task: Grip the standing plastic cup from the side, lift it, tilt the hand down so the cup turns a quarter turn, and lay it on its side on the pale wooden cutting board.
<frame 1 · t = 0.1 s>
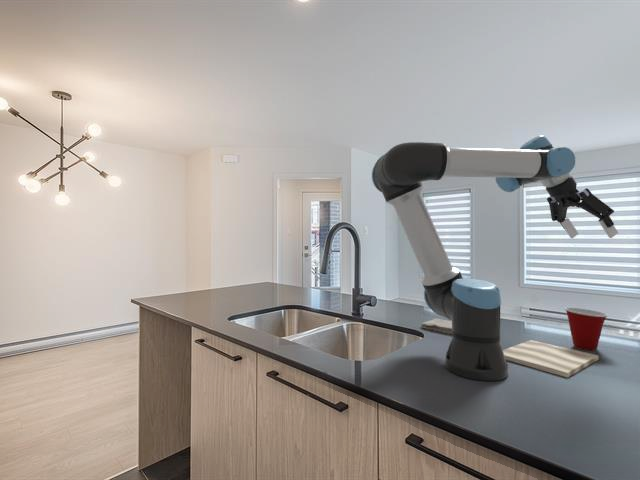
hand: (593, 235, 107), 36 cm above the worktop, tool tilted 35°, fingers open, 13 cm apart
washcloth: (448, 331, 128), on the worktop
plastic cup: (586, 348, 107), on the worktop
cutting board: (546, 358, 97), on the worktop
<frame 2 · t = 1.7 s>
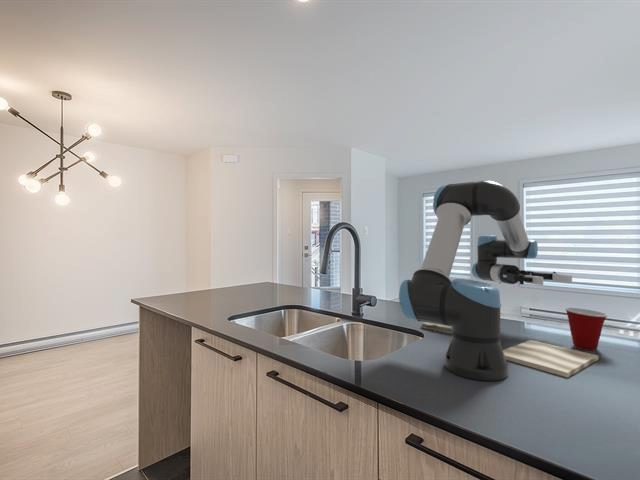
hand: (557, 280, 115), 20 cm above the worktop, tool horizontal, fingers open, 13 cm apart
nothing on the worktop moved.
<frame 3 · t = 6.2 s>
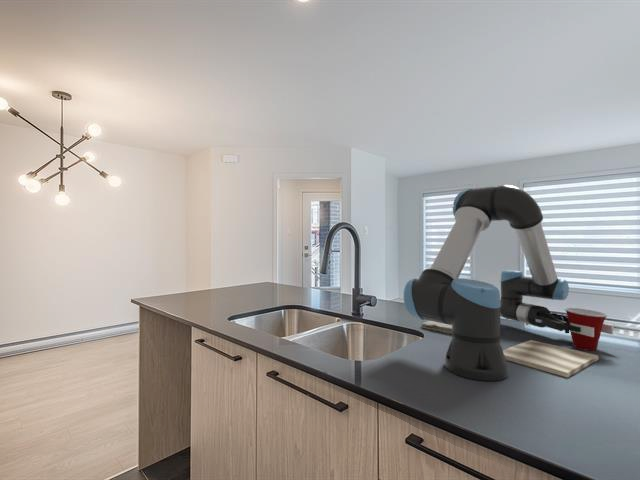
hand: (602, 331, 102), 7 cm above the worktop, tool horizontal, fingers closed on plastic cup, 8 cm apart
plastic cup: (585, 348, 106), on the worktop, touching gripper
everything else where it was.
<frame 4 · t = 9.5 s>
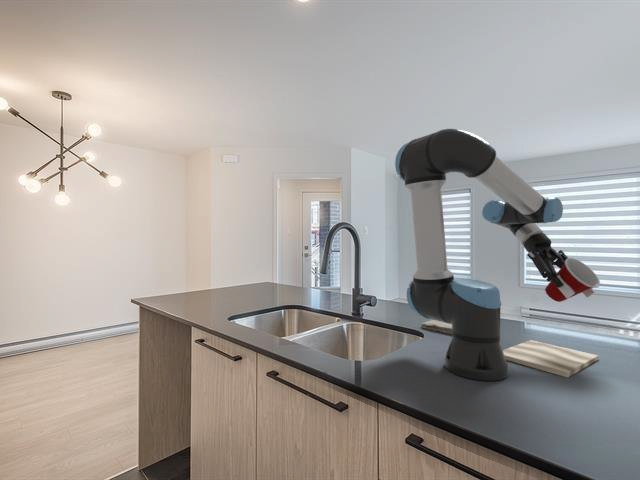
hand: (581, 295, 99), 18 cm above the worktop, tool tilted 45°, fingers closed on plastic cup, 8 cm apart
plastic cup: (553, 295, 106), point 17 cm above the worktop, touching gripper
everything else where it was.
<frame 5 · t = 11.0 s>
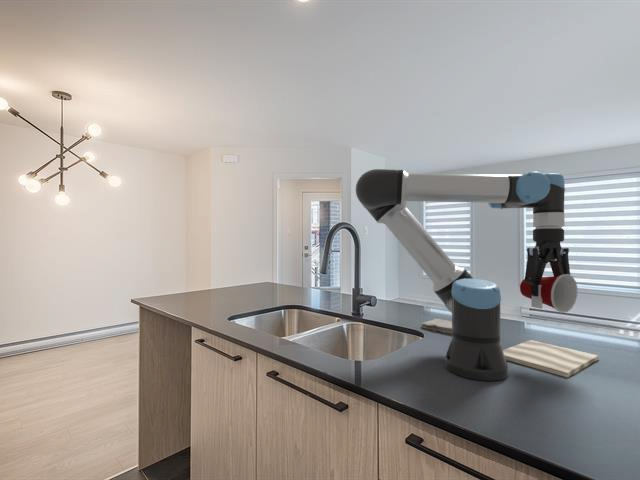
hand: (547, 306, 97), 15 cm above the worktop, tool pointing down, fingers closed on plastic cup, 8 cm apart
plastic cup: (526, 287, 103), point 20 cm above the worktop, touching gripper
everything else where it was.
when the fingers open (3 cm above the worktop, at t = 13.9 s): plastic cup drops 3 cm, resting on cutting board.
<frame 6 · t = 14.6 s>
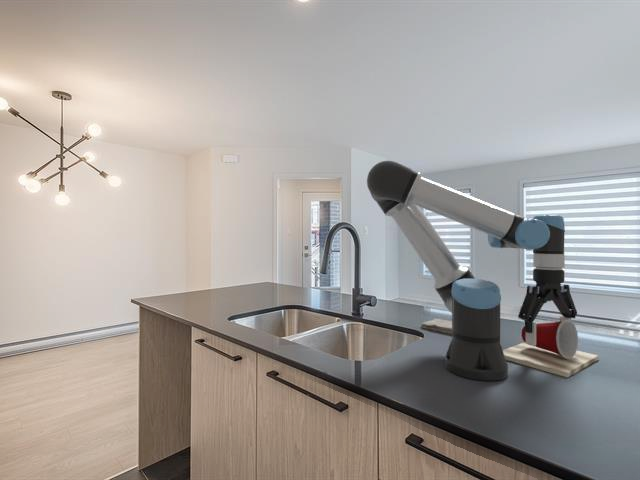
hand: (548, 341, 97), 5 cm above the worktop, tool pointing down, fingers open, 13 cm apart
plastic cup: (526, 334, 104), point 5 cm above the worktop, touching cutting board, gripper
everything else where it was.
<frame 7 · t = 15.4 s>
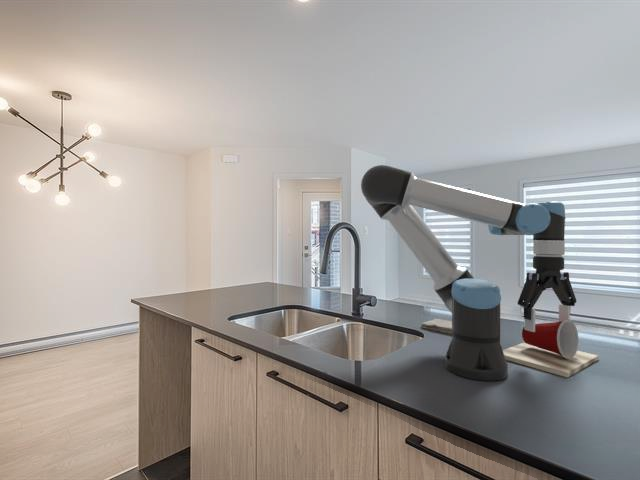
hand: (547, 329, 97), 9 cm above the worktop, tool pointing down, fingers open, 13 cm apart
nothing on the worktop moved.
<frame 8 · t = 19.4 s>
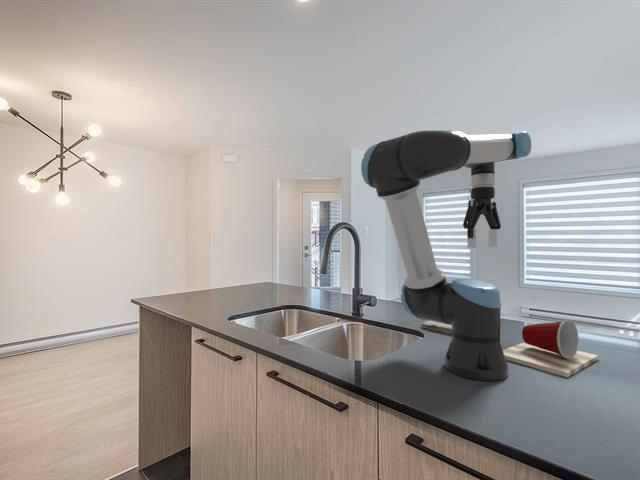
hand: (482, 247, 118), 32 cm above the worktop, tool pointing down, fingers open, 13 cm apart
plastic cup: (527, 335, 104), point 5 cm above the worktop, touching cutting board
everything else where it was.
at the end: plastic cup tilted 81°; plastic cup touching cutting board; the gripper is holding nothing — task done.
